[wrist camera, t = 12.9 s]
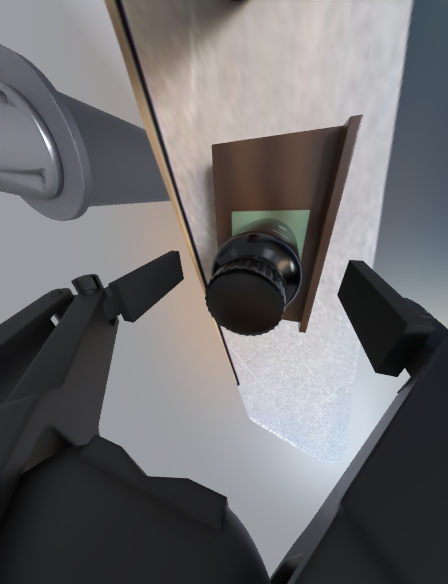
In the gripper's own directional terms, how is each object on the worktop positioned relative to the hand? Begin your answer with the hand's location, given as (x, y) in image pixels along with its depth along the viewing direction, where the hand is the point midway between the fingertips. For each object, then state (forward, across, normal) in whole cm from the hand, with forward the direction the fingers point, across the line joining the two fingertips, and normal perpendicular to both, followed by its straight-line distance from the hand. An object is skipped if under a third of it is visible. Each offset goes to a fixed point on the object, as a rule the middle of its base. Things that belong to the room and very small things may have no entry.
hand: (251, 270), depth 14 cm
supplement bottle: (+8, 0, 0) cm, 8 cm away
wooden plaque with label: (+12, 0, 0) cm, 13 cm away
